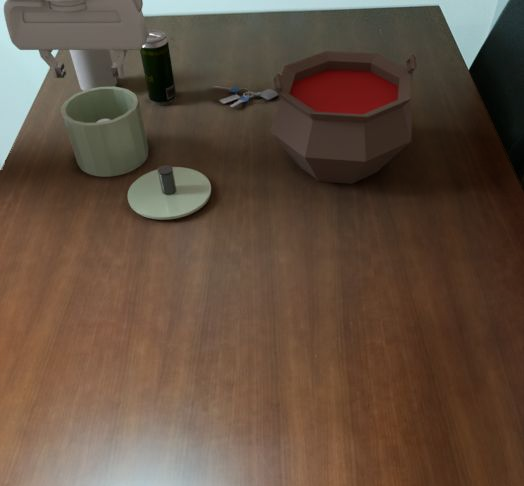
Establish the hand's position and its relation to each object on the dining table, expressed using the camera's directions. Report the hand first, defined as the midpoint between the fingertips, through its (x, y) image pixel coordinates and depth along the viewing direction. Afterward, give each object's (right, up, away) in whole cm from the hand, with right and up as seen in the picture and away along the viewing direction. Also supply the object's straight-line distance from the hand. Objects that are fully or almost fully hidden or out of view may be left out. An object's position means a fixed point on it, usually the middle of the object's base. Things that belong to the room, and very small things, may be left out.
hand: (89, 76), depth 92 cm
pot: (+1, -9, +11) cm, 14 cm away
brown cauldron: (+41, -11, +8) cm, 43 cm away
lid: (+12, -18, +3) cm, 22 cm away
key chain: (+24, +6, +22) cm, 33 cm away
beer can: (+8, +6, +24) cm, 26 cm away
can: (-6, +10, +28) cm, 30 cm away
